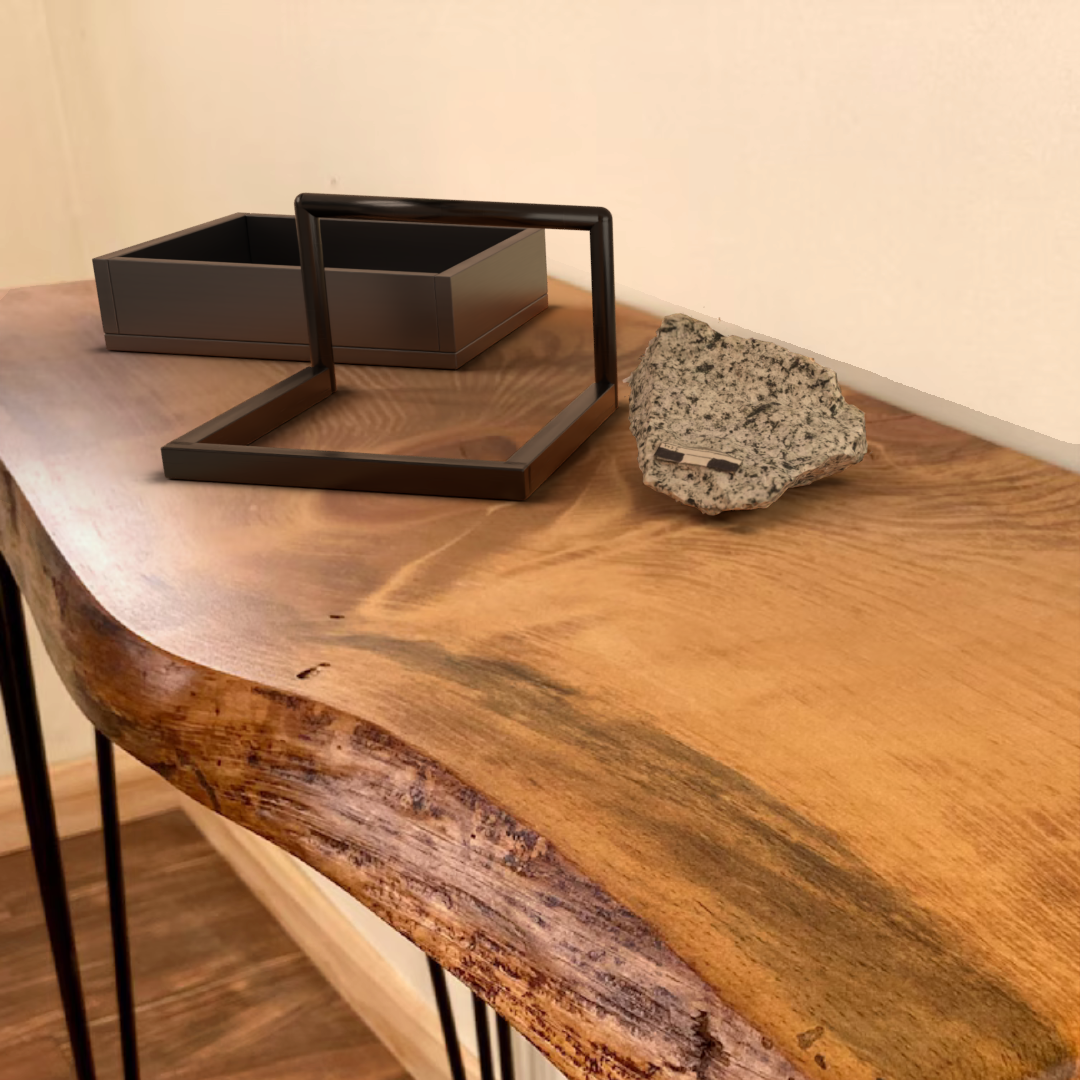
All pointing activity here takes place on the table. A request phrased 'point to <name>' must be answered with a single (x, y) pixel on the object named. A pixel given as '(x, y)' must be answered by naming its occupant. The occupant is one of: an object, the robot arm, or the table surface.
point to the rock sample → (736, 418)
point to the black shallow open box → (352, 289)
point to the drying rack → (224, 438)
